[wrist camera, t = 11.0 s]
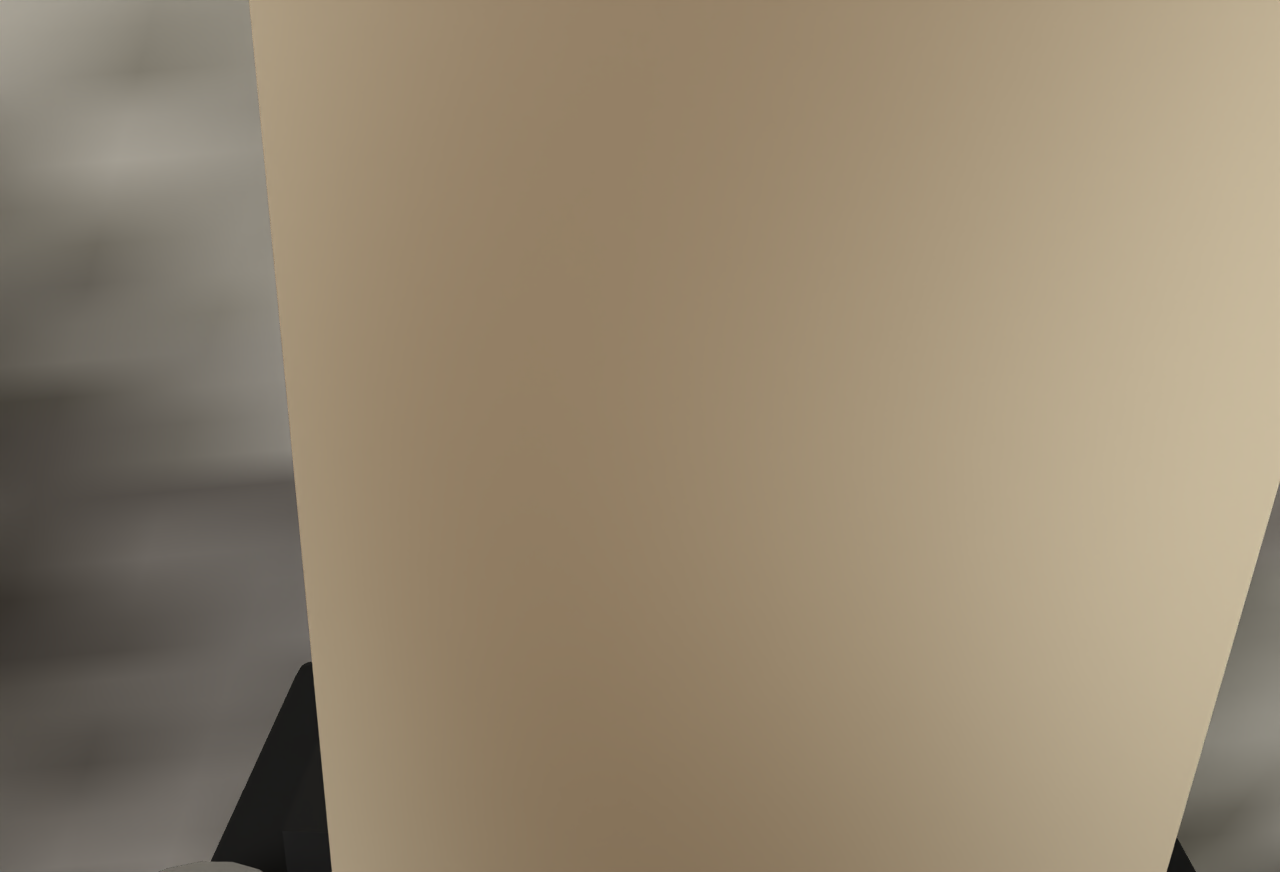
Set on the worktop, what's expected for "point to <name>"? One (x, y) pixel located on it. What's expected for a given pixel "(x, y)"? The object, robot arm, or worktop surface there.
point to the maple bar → (772, 421)
